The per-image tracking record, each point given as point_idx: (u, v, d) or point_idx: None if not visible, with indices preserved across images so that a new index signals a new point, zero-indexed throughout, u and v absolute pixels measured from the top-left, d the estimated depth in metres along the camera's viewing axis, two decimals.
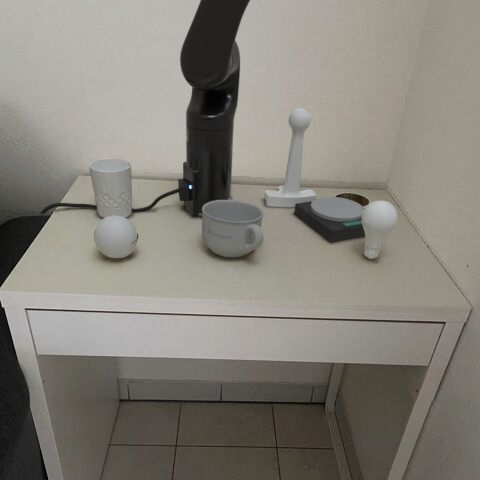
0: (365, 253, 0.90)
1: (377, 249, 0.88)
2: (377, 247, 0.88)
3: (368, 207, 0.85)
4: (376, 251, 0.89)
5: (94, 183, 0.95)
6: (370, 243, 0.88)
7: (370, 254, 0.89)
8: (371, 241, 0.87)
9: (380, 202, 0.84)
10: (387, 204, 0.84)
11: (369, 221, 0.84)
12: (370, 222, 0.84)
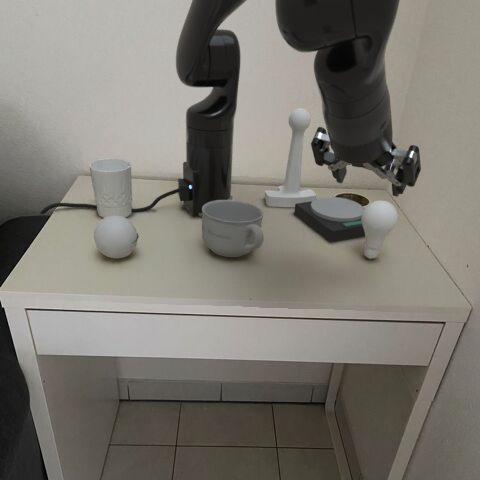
0: (365, 253, 0.90)
1: (377, 249, 0.88)
2: (377, 247, 0.88)
3: (368, 207, 0.85)
4: (376, 251, 0.89)
5: (94, 183, 0.95)
6: (370, 243, 0.88)
7: (370, 254, 0.89)
8: (371, 241, 0.87)
9: (380, 202, 0.84)
10: (387, 204, 0.84)
11: (369, 221, 0.84)
12: (370, 222, 0.84)
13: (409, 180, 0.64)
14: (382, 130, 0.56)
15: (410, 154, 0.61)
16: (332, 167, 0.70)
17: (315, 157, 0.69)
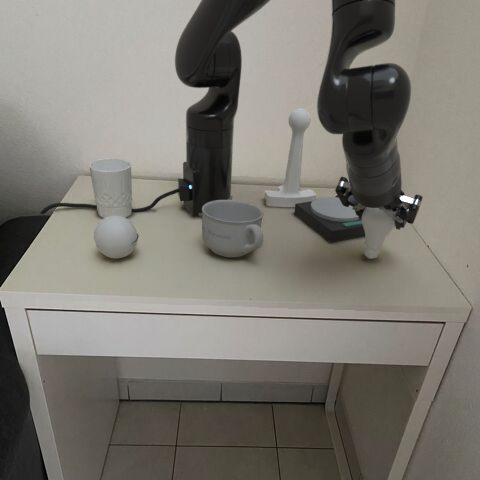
0: (365, 253, 0.90)
1: (377, 249, 0.88)
2: (377, 247, 0.88)
3: (368, 207, 0.85)
4: (376, 251, 0.89)
5: (94, 183, 0.95)
6: (370, 243, 0.88)
7: (370, 254, 0.89)
8: (371, 241, 0.87)
9: None
10: None
11: (369, 221, 0.84)
12: (370, 222, 0.84)
13: (410, 219, 0.80)
14: (394, 184, 0.71)
15: (416, 202, 0.76)
16: (356, 208, 0.85)
17: (341, 200, 0.84)
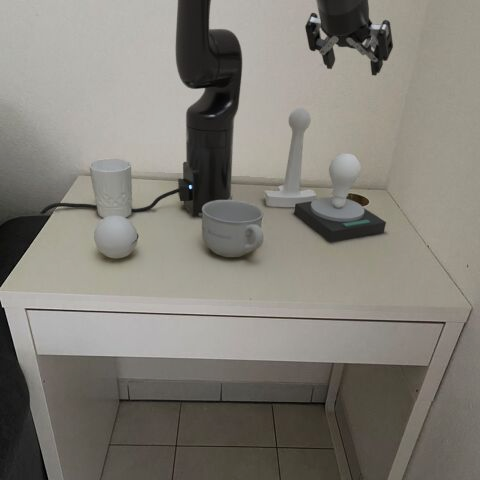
0: (333, 202, 1.00)
1: (343, 198, 0.99)
2: (343, 196, 0.99)
3: (334, 159, 0.96)
4: (342, 200, 0.99)
5: (94, 183, 0.95)
6: (337, 192, 0.98)
7: (337, 203, 1.00)
8: (337, 190, 0.98)
9: (345, 154, 0.95)
10: (351, 156, 0.95)
11: (335, 171, 0.95)
12: (336, 172, 0.95)
13: (383, 53, 0.81)
14: (359, 0, 0.72)
15: (383, 27, 0.77)
16: (322, 51, 0.86)
17: (309, 42, 0.86)
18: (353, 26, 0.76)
